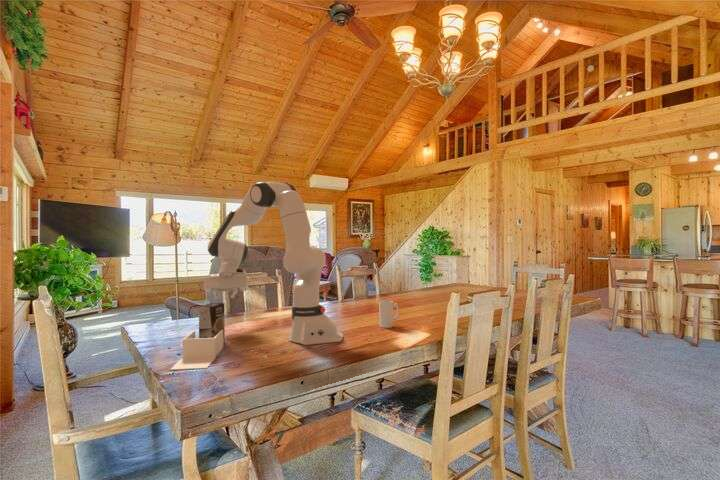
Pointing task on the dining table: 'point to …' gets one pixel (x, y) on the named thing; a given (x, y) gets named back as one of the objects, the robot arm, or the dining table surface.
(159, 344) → the dining table surface
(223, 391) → the dining table surface
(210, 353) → the box
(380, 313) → the mug
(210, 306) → the coffee box
